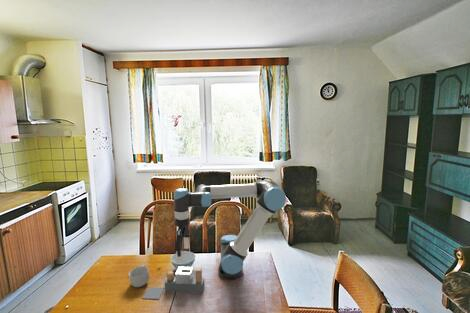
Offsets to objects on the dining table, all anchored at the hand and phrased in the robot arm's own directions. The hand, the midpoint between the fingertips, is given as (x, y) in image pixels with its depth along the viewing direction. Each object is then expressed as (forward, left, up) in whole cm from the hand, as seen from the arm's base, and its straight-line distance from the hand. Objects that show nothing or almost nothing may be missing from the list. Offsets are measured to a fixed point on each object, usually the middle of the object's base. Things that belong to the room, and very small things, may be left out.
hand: (183, 254), depth 140 cm
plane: (0, 0, -20) cm, 20 cm away
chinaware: (+6, -19, -21) cm, 29 cm away
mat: (+16, +5, -20) cm, 26 cm away
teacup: (+27, -4, -21) cm, 34 cm away
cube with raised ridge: (0, 0, -15) cm, 15 cm away
